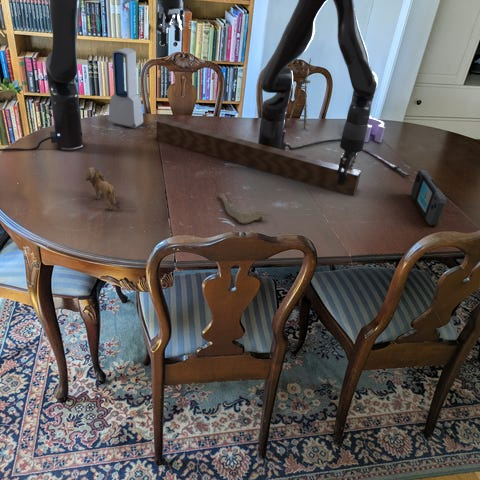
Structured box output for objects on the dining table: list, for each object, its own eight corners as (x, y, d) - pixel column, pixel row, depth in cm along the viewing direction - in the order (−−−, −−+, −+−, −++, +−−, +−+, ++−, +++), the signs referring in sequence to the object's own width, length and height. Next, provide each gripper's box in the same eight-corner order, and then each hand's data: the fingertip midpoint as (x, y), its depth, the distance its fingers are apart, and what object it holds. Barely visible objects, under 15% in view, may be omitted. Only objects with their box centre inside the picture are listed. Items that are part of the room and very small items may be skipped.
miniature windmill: (304, 129, 213) (316, 61, 197) (286, 126, 214) (297, 58, 198) (306, 123, 221) (318, 57, 205) (288, 120, 222) (299, 54, 206)
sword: (412, 176, 179) (413, 173, 178) (406, 177, 178) (407, 174, 177) (361, 148, 202) (362, 145, 201) (356, 149, 201) (356, 146, 200)
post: (356, 190, 164) (361, 171, 160) (352, 195, 161) (357, 175, 157) (163, 136, 191) (163, 118, 187) (156, 139, 187) (156, 121, 183)
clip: (343, 126, 223) (346, 112, 219) (367, 127, 225) (371, 113, 221) (360, 142, 206) (364, 127, 202) (386, 142, 209) (390, 127, 205)
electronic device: (143, 124, 200) (142, 50, 183) (134, 129, 194) (132, 53, 177) (118, 119, 203) (114, 45, 186) (108, 124, 196) (104, 48, 180)
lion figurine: (83, 195, 144) (80, 168, 139) (97, 189, 147) (95, 163, 142) (112, 213, 136) (111, 185, 131) (127, 207, 140) (126, 180, 135)
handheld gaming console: (409, 194, 166) (417, 168, 160) (416, 194, 166) (425, 168, 160) (428, 227, 146) (439, 199, 141) (437, 228, 147) (448, 200, 141)
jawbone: (251, 231, 136) (251, 225, 134) (200, 206, 146) (200, 200, 145) (270, 218, 141) (270, 213, 140) (219, 195, 152) (219, 189, 150)
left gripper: (173, -11, 166) (173, 38, 174) (150, -9, 154) (150, 43, 163) (191, -8, 163) (190, 42, 172) (169, -6, 152) (168, 47, 161)
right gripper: (348, 126, 160) (338, 170, 169) (336, 138, 149) (326, 184, 158) (370, 131, 158) (358, 176, 166) (359, 144, 146) (348, 190, 155)
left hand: (171, 42), depth 168 cm, fingers open, 8 cm apart
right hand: (343, 180), depth 162 cm, fingers open, 7 cm apart
